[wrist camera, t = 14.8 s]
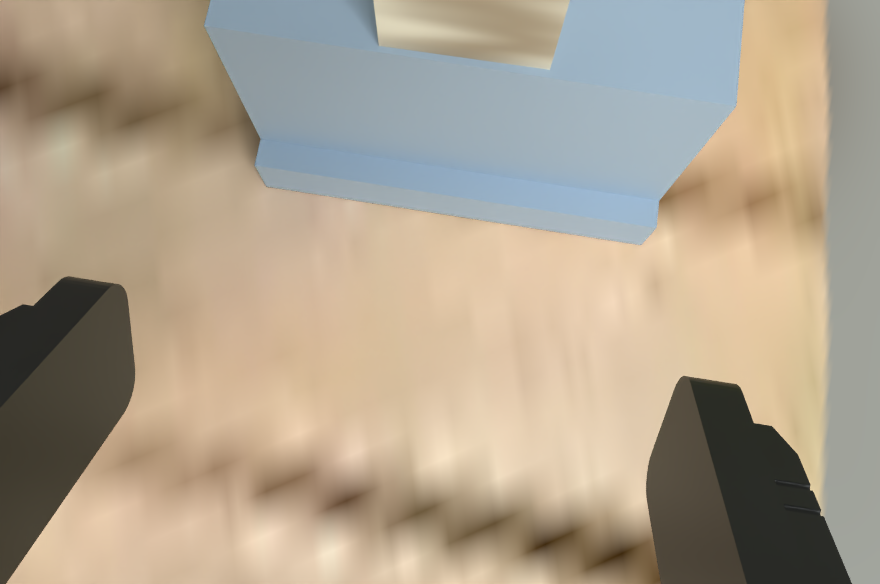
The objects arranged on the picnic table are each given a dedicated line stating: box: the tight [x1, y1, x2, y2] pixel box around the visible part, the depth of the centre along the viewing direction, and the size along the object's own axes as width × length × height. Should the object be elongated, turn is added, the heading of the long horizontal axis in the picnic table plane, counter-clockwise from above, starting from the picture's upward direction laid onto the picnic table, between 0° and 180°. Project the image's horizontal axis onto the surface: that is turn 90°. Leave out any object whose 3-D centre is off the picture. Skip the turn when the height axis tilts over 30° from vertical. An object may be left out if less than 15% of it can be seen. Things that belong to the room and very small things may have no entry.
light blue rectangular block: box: [204, 0, 745, 245], centre depth 25 cm, size 14×7×9 cm, turn 81°
